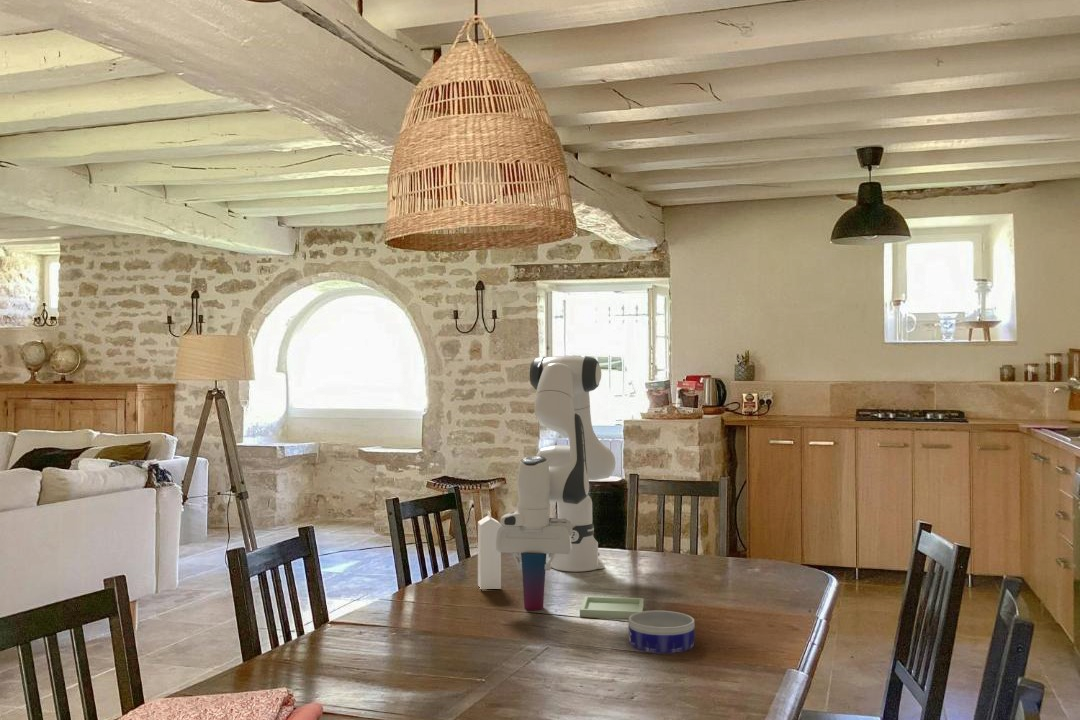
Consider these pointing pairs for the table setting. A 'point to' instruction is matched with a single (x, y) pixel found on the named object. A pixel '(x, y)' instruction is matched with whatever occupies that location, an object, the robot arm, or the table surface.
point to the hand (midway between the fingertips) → (533, 569)
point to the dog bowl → (661, 631)
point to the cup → (533, 579)
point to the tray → (610, 607)
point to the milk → (488, 554)
